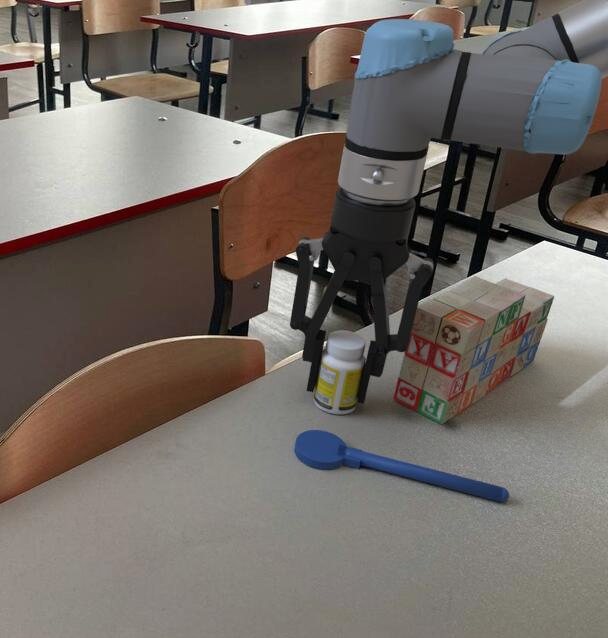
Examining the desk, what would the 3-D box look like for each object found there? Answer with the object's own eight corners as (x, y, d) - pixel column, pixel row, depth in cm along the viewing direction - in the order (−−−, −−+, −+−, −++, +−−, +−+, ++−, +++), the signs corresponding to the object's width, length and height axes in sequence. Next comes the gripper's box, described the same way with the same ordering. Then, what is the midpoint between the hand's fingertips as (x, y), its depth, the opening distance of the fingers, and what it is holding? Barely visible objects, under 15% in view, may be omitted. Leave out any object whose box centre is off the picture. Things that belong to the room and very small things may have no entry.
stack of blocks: (486, 341, 98) (513, 254, 92) (534, 362, 94) (565, 273, 88) (391, 399, 86) (415, 304, 80) (441, 426, 82) (470, 328, 76)
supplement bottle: (356, 395, 87) (370, 332, 83) (355, 419, 83) (370, 354, 79) (313, 388, 88) (325, 325, 84) (311, 411, 84) (323, 346, 80)
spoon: (506, 485, 74) (510, 474, 74) (507, 520, 70) (512, 508, 69) (299, 432, 81) (301, 421, 80) (289, 461, 76) (291, 450, 76)
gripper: (276, 190, 73) (250, 389, 84) (475, 221, 67) (418, 430, 79) (292, 167, 79) (265, 356, 90) (475, 194, 73) (422, 392, 85)
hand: (336, 390), depth 85 cm, fingers closed on supplement bottle, 5 cm apart
